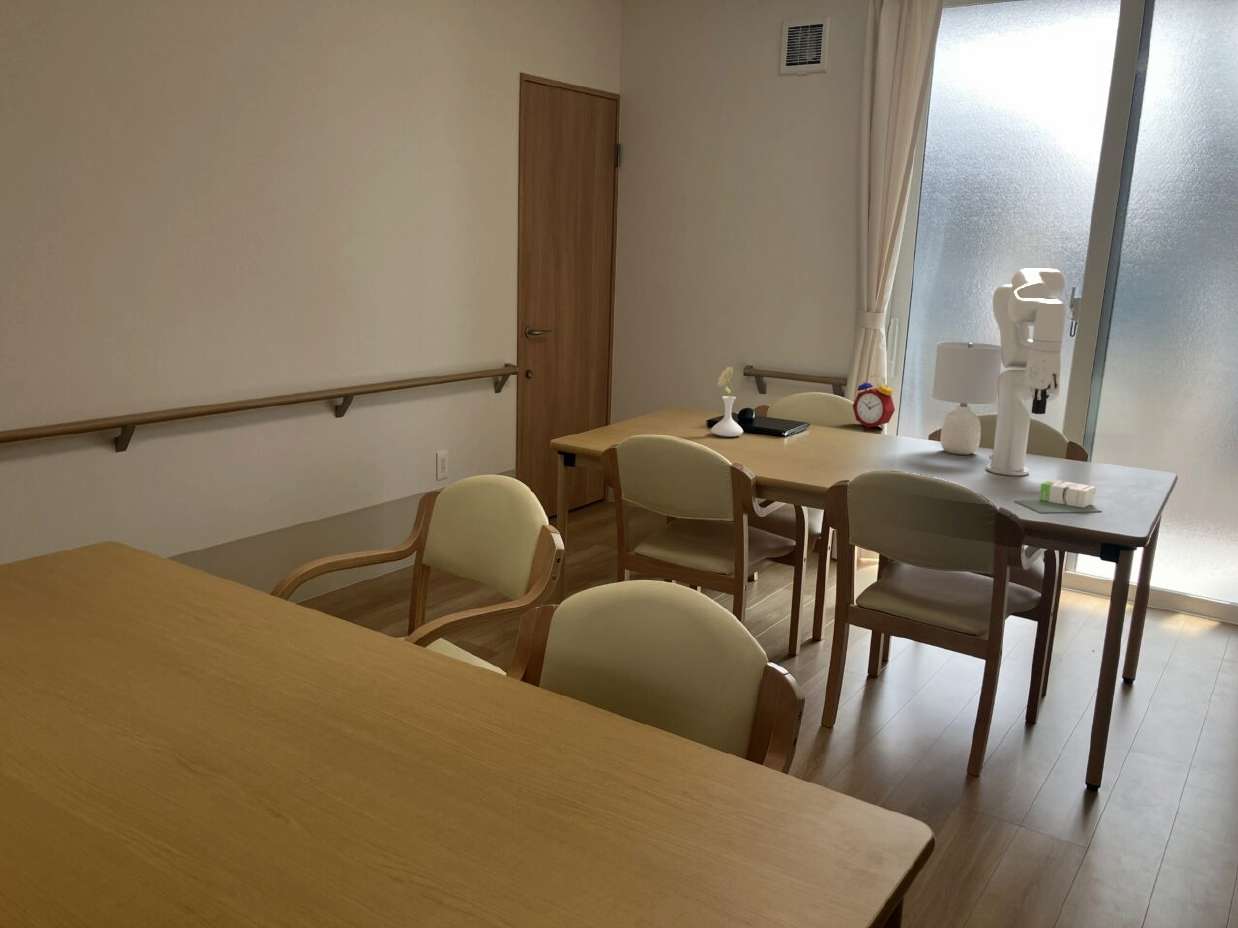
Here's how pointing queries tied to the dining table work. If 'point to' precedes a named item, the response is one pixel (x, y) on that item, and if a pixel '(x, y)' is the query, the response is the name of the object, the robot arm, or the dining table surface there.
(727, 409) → the flower in vase
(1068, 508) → the felt mat
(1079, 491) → the ink box
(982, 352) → the lamp
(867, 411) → the alarm clock
